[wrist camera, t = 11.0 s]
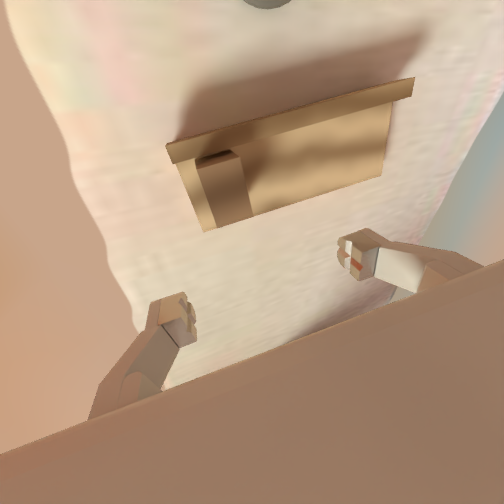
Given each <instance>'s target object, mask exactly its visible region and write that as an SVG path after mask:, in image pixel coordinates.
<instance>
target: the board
mask: <svg viewBox="0 0 504 504" xmlns="http://www.w3.org/2000/svg"><path fill="white" fill-rule="evenodd" d="M414 80H415V77H413V78H407V79H401V80H395V81H392V82H388V83H384V84H381V85H377V86H373V87H370V88H366V89H362V90H359V91H355V92H352V93H348V94H344V95H341V96H337V97H333V98H330V99H326V100H322V101H319V102H315V103H312V104H308V105H304V106H301V107H297V108H293V109H290V110H286V111H282V112H279V113H275V114H272V115H268V116H264V117H261V118H257V119H253V120H250V121H246V122H242V123H239V124H235V125H232V126H228V127H224V128H221V129H217V130H213V131H210V132H206V133H202V134H199V135H195V136H192V137H188V138H184V139H181V140H177V141H173V142H170V143H167V144H166V146H165V147H166V149H167V152H168V154H169V156H170V159H171V161H172V164H176V166H177V169H178V171H179V173H180V176H181V178H182V181H183V183H184V186H185V188H186V191H187V193H188V196H189V198H190V200H191V203H192V205H193V208H194V210H195V213H196V215H197V218H198V220H199V222H200V225H201V227H202V230H203V232H206V231H209V230H213V229H216V228H217V226H216V223H215V220H214V217H213V215H212V212H211V209H210V206H209V203H208V201H207V198H206V195H205V192H204V189H203V187H202V184H201V181H200V178H199V175H198V173H197V170H196V165H195V160H196V159H199V158H203V157H206V156H209V155H213V154H216V153H220V152H223V151H227V150H231V151H233V152H234V153H235V154H237V155H238V156H239V157H240V160H241V164H242V168H243V173H244V177H245V181H246V186H247V190H248V194H249V199H250V203H251V207H252V212H253V216H256V215H259V214H262V213H266V212H269V211H272V210H275V209H278V208H281V207H284V206H287V205H291V204H294V203H297V202H300V201H303V200H306V199H309V198H312V197H315V196H319V195H322V194H325V193H328V192H331V191H334V190H337V189H340V188H344V187H347V186H350V185H353V184H356V183H359V182H362V181H365V180H368V179H372V178H375V177H378V176H381V174H382V167H383V161H384V154H385V148H386V141H387V135H388V128H389V122H390V116H391V109H392V103H393V101H397V100H400V99H404V98H407V97H411V96H412V91H413V86H414Z"/></svg>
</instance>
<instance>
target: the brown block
mask: <svg viewBox="0 0 504 504" xmlns="http://www.w3.org/2000/svg"><path fill="white" fill-rule="evenodd" d="M195 165H196V170H197V173H198V175H199V178H200V181H201V184H202V187H203V189H204V192H205V195H206V198H207V201H208V203H209V206H210V209H211V212H212V215H213V217H214V220H215V223H216V226H217V228H220V227H223V226H226V225H229V224H232V223H235V222H238V221H242V220H245V219H248V218H251V217H254V216H253V212H252V207H251V203H250V199H249V194H248V190H247V186H246V181H245V177H244V173H243V168H242V164H241V160H240V157H239V156H238V155H237V154H235V153H234V152H233V151H231V150H227V151H223V152H220V153H216V154H213V155H209V156H206V157H203V158H199V159H196V160H195Z"/></svg>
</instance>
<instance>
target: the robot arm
mask: <svg viewBox="0 0 504 504" xmlns="http://www.w3.org/2000/svg"><path fill="white" fill-rule="evenodd" d="M338 246H339V247H340V248H339V250H338V251H337V257H338V260H339V262H340V264H341V265H342V266H343V267H344V268H346V269H350V274H351V275H352V276H353V277H354V278H355V279H357V280H358V281H361V280H364V279H367V278H370V277H373V276H374V277H376V278H378V279H381V280H383V281H386V282H388V283H391V284H393V285H396V286H398V287H401V288H403V289H406V290H408V291H411V292H413V293H415V294H413V295H410V296H408V297H405V298H403V299H400V300H398V301H395V302H392V303H390V304H387V305H385V306H382V307H380V308H377V309H374V310H372V311H369V312H367V313H364V314H361V315H359V316H356V317H354V318H351V319H349V320H346V321H343V322H341V323H338V324H336V325H333V326H331V327H328V328H325V329H323V330H320V331H318V332H315V333H312V334H310V335H307V336H305V337H302V338H300V339H297V340H294V341H292V342H289V343H287V344H284V345H282V346H279V347H276V348H274V349H271V350H269V351H266V352H263V353H261V354H258V355H256V356H253V357H250V358H248V359H245V360H243V361H240V362H238V363H235V364H232V365H230V366H227V367H225V368H222V369H219V370H217V371H214V372H212V373H209V374H206V375H204V376H201V377H199V378H196V379H194V380H191V381H188V382H186V383H183V384H181V385H178V386H176V387H173V388H170V389H168V390H165V391H161V387H162V385H163V383H164V381H165V379H166V376H167V374H168V372H169V370H170V368H171V366H172V364H173V362H174V360H175V358H176V356H177V354H178V352H179V348H181V347H184V346H186V345H189V344H191V343H194V342H196V341H197V329H196V327H195V326H194V324H195V322H196V315H195V311H194V308H193V306H192V304H191V303H189V302H187V296H186V294H185V293H184V292H180V293H177V294H174V295H171V296H168V297H165V298H162V299H159V300H156V301H153V302H151V304H150V307H149V312H148V317H147V322H146V327H145V331H142V332H141V333H140V334H139V336H138V337H137V338H136V339H135V341H134V342H133V343H132V344H131V346H130V347H129V348H128V349H127V351H126V352H125V353H124V354H123V356H122V357H121V358H120V359H119V361H118V362H117V363H116V364H115V366H114V367H113V368H112V369H111V371H110V372H109V373H108V374H107V375H106V377H105V378H104V379H103V381H102V382H101V383H100V384H99V387H98V390H97V393H96V396H95V399H94V402H93V405H92V409H91V411H90V414H89V417H88V420H87V421H85V422H83V423H80V424H78V425H75V426H73V427H70V428H67V429H65V430H62V431H60V432H57V433H55V434H52V435H49V436H46V437H44V438H41V439H39V440H36V441H34V442H31V443H29V444H26V445H23V446H21V447H18V448H16V449H13V450H10V451H8V452H5V453H2V454H0V504H504V259H503V260H501V261H498V262H496V263H493V264H491V265H488V266H485V267H484V266H482V265H480V264H478V263H476V262H474V261H472V260H470V259H468V258H466V257H464V256H462V255H460V254H458V253H456V252H452V251H446V250H441V249H435V248H429V247H424V246H418V245H412V244H406V243H401V242H390V241H389V240H387V239H385V238H384V237H382V236H380V235H379V234H377V233H375V232H374V231H372V230H370V229H369V228H364V229H362V230H359V231H357V232H354V233H351V234H349V235H346V236H343V237H340V238H339V239H338Z"/></svg>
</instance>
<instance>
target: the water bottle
mask: <svg viewBox="0 0 504 504" xmlns="http://www.w3.org/2000/svg"><path fill="white" fill-rule="evenodd" d="M244 1H245V2H246V3H248V4H250V5H252V6H255V7H257V8H262V9H272V8H277V7H281V6H283V5H284V4H286V3H288V2H290V1H291V0H244Z"/></svg>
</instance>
